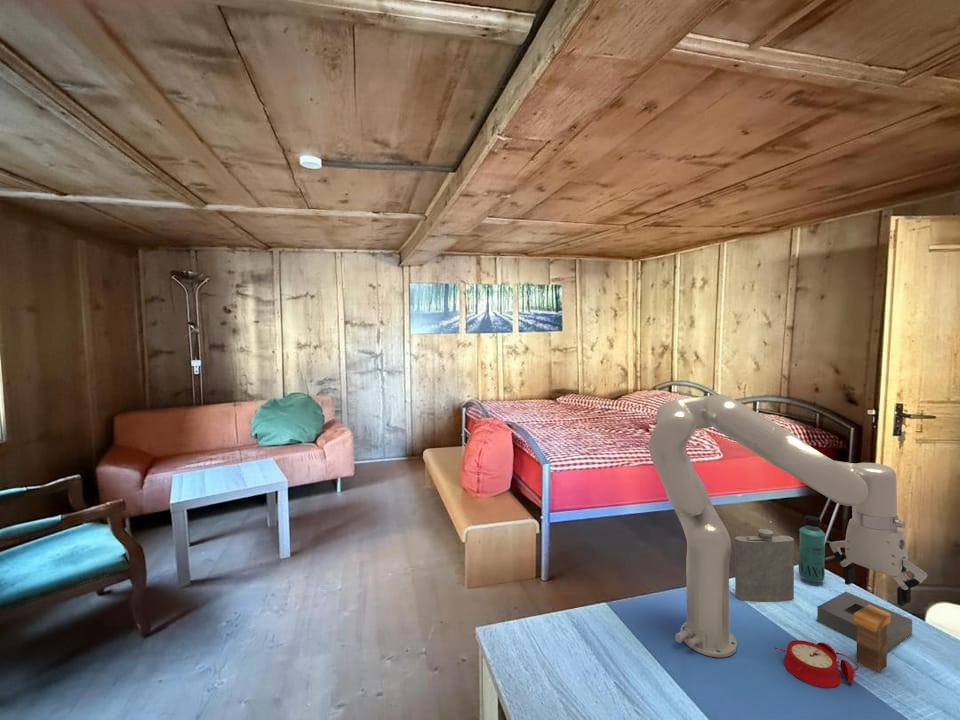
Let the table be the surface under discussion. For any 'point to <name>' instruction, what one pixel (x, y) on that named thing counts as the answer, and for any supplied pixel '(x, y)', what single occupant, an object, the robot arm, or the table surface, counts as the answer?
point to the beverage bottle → (812, 550)
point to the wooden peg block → (872, 637)
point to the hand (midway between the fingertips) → (875, 592)
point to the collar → (841, 619)
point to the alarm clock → (816, 663)
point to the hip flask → (764, 567)
